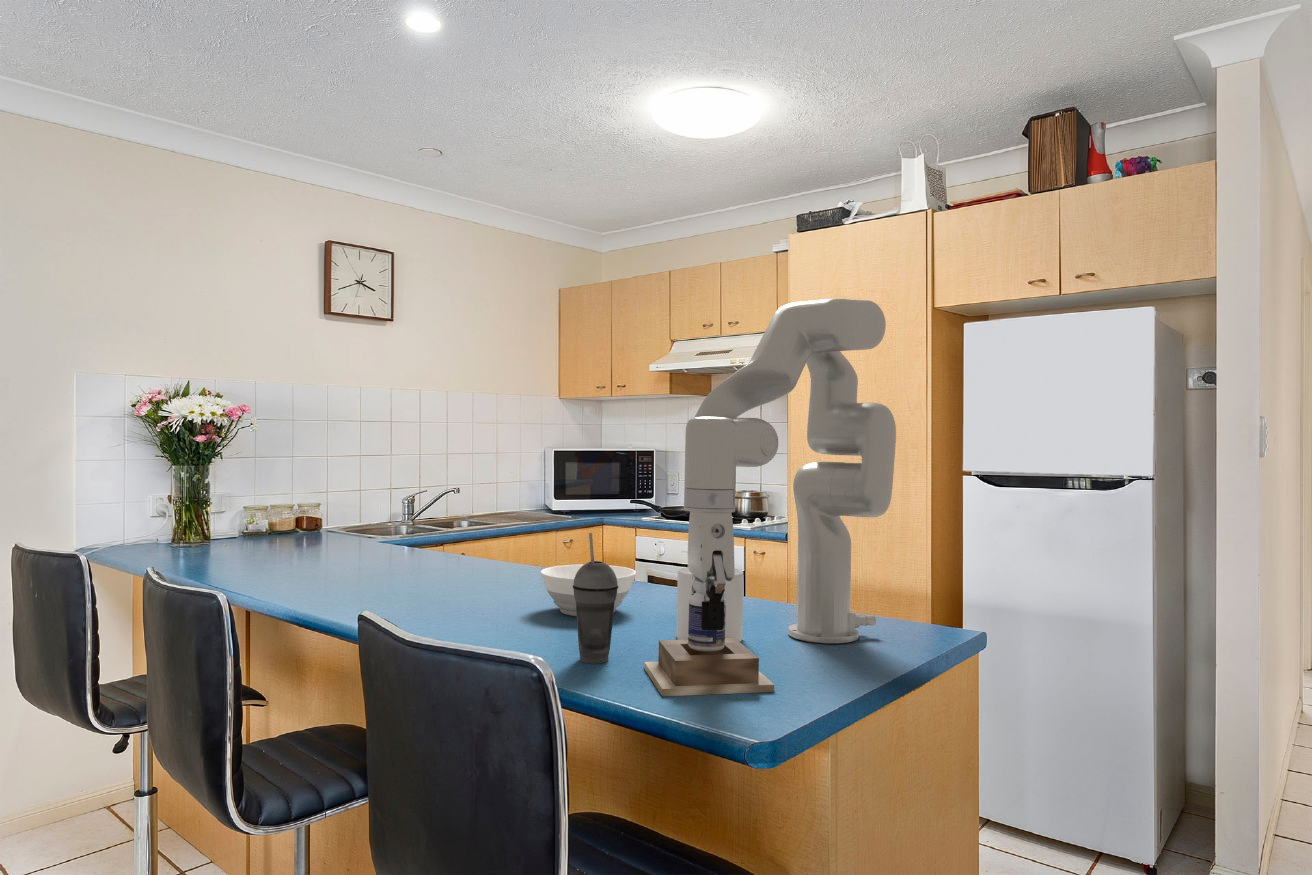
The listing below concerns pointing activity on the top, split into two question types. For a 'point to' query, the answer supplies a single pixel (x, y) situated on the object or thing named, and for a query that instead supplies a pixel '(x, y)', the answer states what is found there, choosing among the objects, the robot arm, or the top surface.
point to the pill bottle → (696, 634)
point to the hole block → (706, 670)
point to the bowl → (562, 583)
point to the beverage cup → (594, 608)
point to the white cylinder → (732, 599)
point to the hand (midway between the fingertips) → (707, 623)
